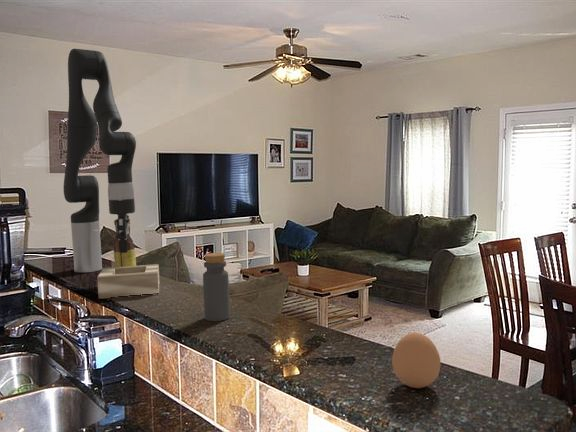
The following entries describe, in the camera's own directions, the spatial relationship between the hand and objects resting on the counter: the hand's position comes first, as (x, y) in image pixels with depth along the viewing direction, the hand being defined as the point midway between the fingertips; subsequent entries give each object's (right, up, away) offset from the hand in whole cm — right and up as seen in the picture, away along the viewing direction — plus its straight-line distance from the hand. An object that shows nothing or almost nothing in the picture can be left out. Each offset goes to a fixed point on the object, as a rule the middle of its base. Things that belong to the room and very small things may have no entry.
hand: (124, 250), depth 165 cm
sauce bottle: (0, -10, +1) cm, 10 cm away
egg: (+70, -16, -81) cm, 108 cm away
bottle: (+34, -13, -40) cm, 54 cm away
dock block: (+4, -11, -9) cm, 15 cm away
